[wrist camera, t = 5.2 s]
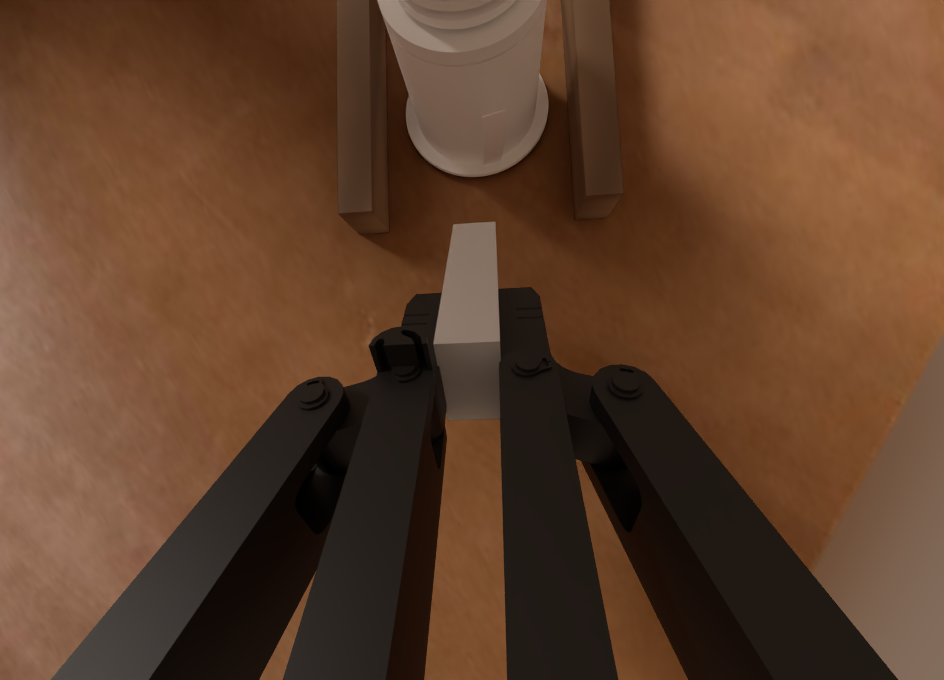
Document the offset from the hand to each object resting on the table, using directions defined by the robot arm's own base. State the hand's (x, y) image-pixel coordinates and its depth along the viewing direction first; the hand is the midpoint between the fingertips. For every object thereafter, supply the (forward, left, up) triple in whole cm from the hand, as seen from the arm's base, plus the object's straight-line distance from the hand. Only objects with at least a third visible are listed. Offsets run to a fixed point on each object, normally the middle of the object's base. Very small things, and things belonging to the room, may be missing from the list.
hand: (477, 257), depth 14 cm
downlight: (0, +9, -4) cm, 10 cm away
